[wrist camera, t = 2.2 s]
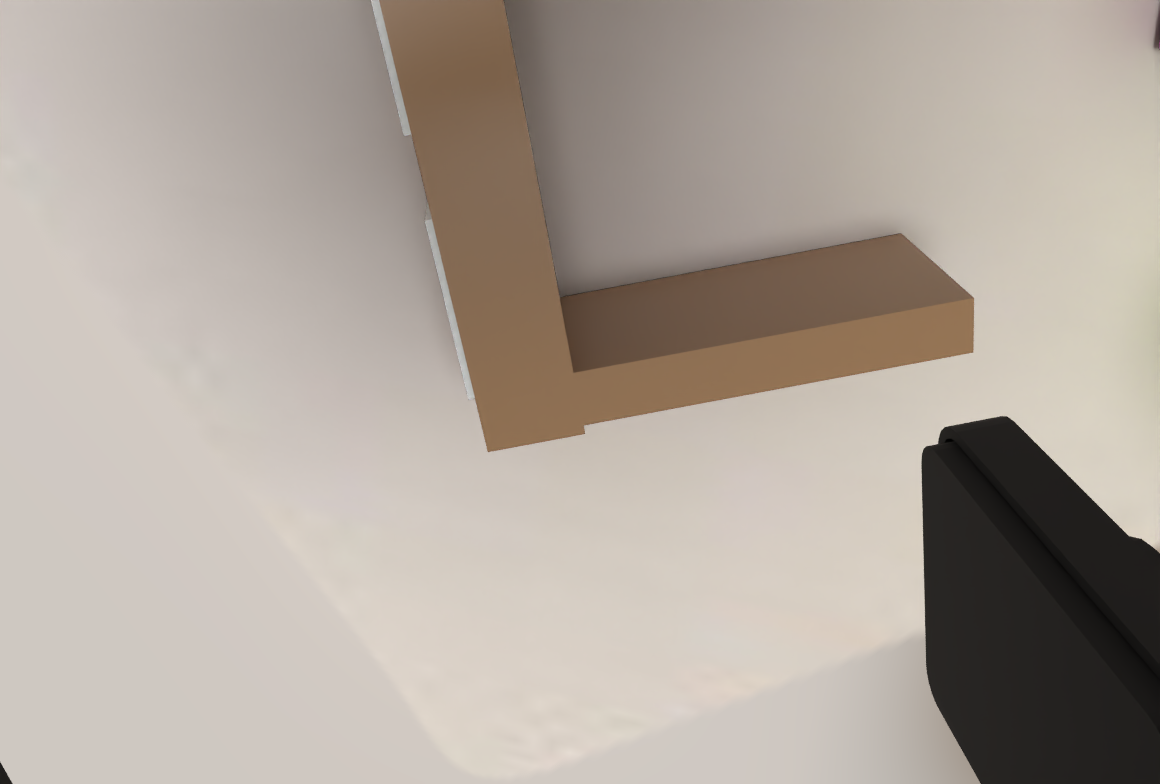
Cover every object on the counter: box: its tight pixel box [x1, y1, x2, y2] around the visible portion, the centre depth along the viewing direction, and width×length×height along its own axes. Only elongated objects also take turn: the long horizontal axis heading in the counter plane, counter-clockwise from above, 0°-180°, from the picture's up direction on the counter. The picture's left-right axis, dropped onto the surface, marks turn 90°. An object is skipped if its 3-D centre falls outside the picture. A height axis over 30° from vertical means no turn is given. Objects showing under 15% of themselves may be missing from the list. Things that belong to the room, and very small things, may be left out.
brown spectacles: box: [371, 0, 974, 452], centre depth 25 cm, size 14×13×5 cm
